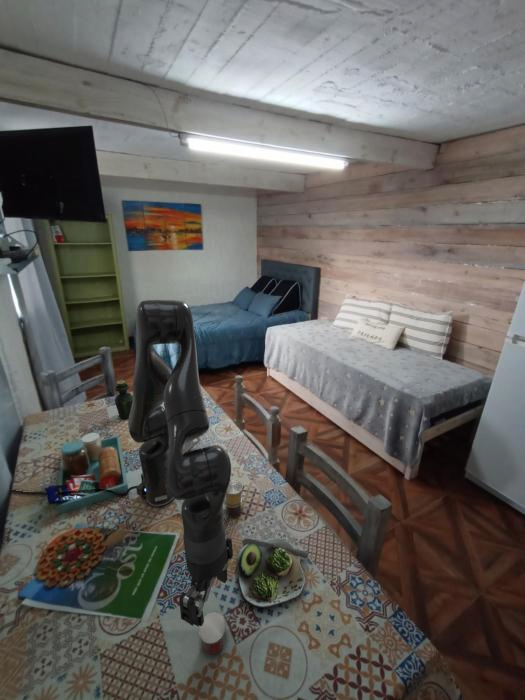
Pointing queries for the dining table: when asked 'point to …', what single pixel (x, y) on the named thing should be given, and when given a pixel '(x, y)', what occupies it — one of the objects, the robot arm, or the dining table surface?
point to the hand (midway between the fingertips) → (210, 600)
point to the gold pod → (234, 492)
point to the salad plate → (269, 572)
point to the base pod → (233, 508)
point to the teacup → (191, 445)
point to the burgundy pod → (213, 632)
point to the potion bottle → (123, 400)
